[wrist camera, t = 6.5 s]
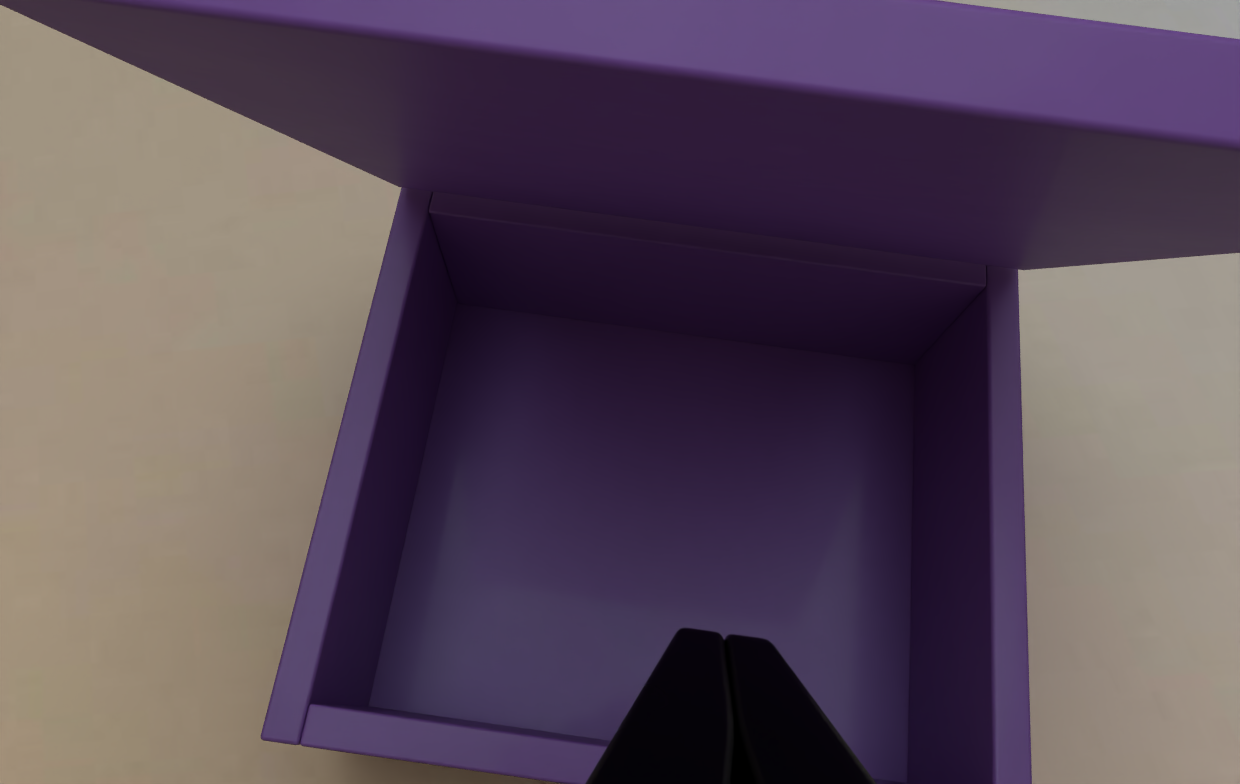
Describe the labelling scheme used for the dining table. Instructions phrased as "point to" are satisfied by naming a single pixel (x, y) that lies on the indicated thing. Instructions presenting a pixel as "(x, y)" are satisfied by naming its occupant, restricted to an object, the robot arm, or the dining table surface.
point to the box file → (665, 494)
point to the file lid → (740, 113)
